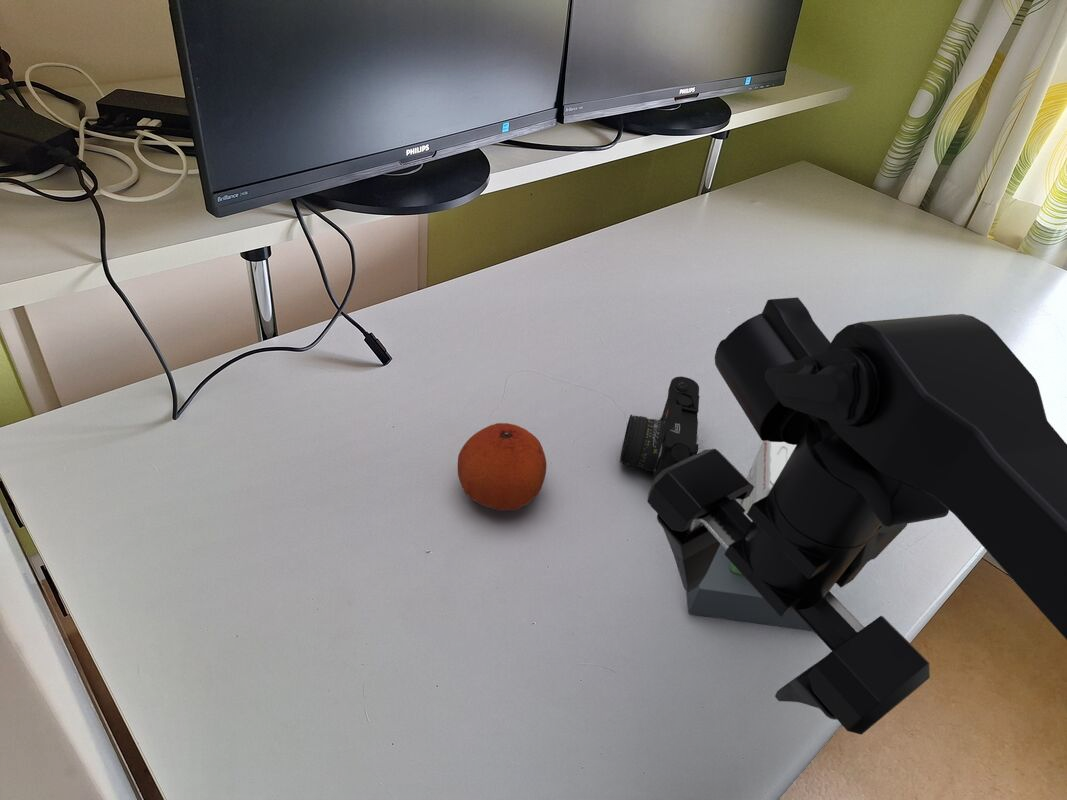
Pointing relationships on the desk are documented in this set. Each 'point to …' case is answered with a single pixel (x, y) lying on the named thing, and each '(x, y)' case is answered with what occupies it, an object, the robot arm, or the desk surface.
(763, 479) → the ink box
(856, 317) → the desk surface
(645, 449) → the camera
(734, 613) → the grey block
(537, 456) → the fruit
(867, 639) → the robot arm
